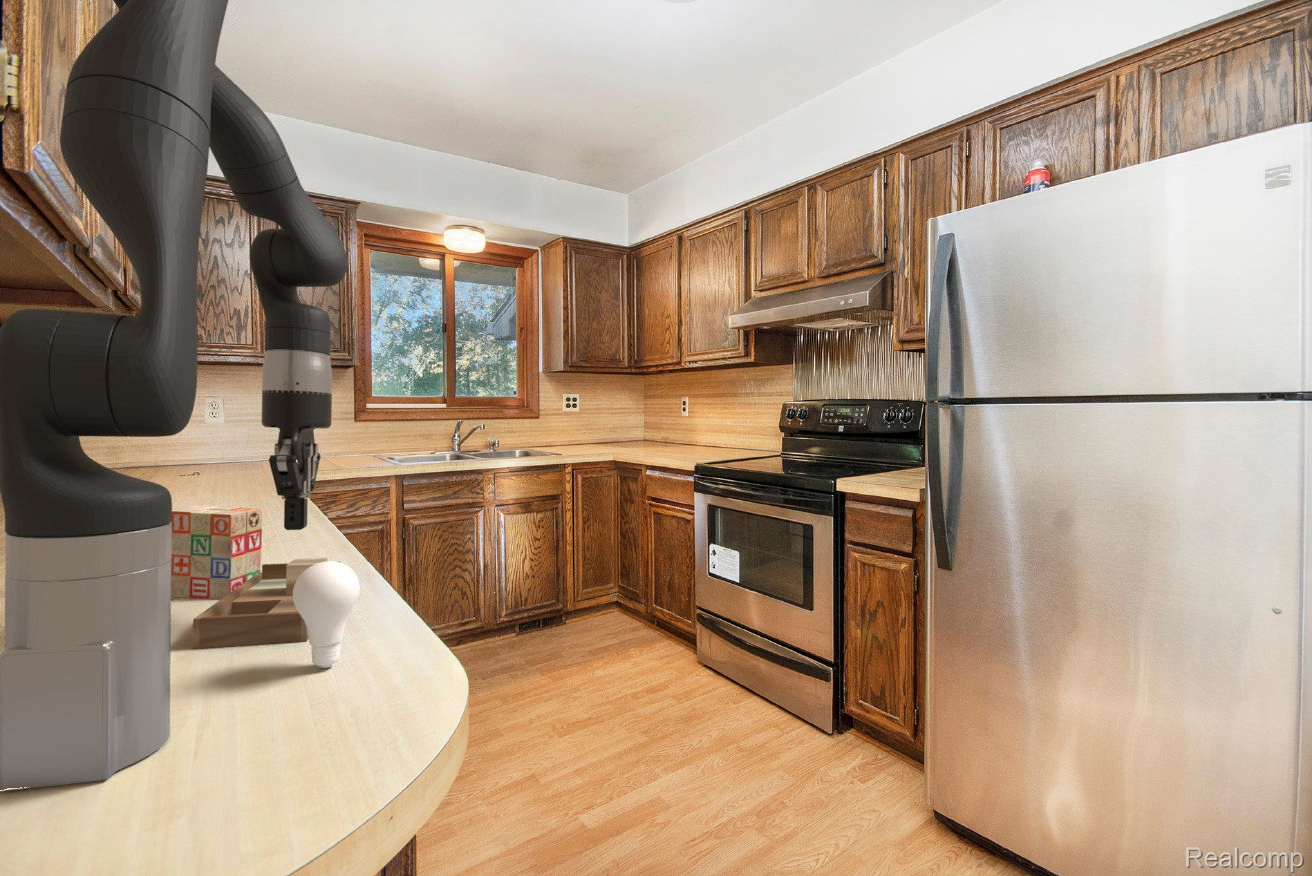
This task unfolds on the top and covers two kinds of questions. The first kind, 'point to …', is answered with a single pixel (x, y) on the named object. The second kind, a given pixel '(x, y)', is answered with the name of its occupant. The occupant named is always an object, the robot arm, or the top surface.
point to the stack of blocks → (214, 549)
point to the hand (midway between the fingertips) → (295, 528)
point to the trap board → (252, 614)
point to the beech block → (298, 571)
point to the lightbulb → (326, 607)
